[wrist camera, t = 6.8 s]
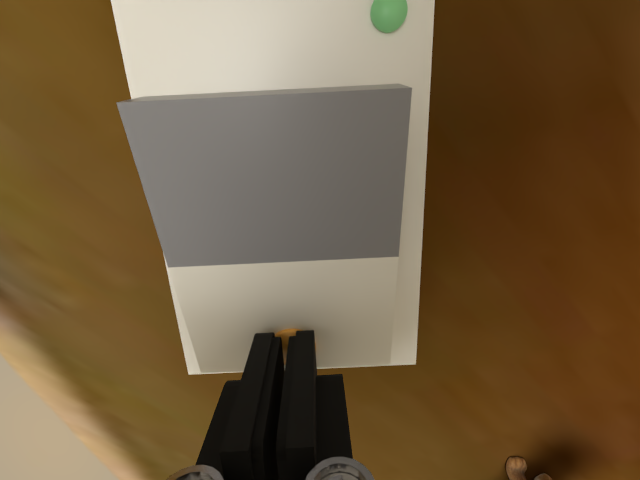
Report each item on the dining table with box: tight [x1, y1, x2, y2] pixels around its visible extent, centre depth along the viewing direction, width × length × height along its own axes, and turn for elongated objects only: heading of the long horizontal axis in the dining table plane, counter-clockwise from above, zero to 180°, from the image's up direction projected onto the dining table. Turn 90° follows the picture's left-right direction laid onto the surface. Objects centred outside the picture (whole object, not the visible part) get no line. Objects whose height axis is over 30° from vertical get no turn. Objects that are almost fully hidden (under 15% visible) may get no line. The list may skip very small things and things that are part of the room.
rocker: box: [117, 84, 412, 373], centre depth 9 cm, size 6×8×2 cm
